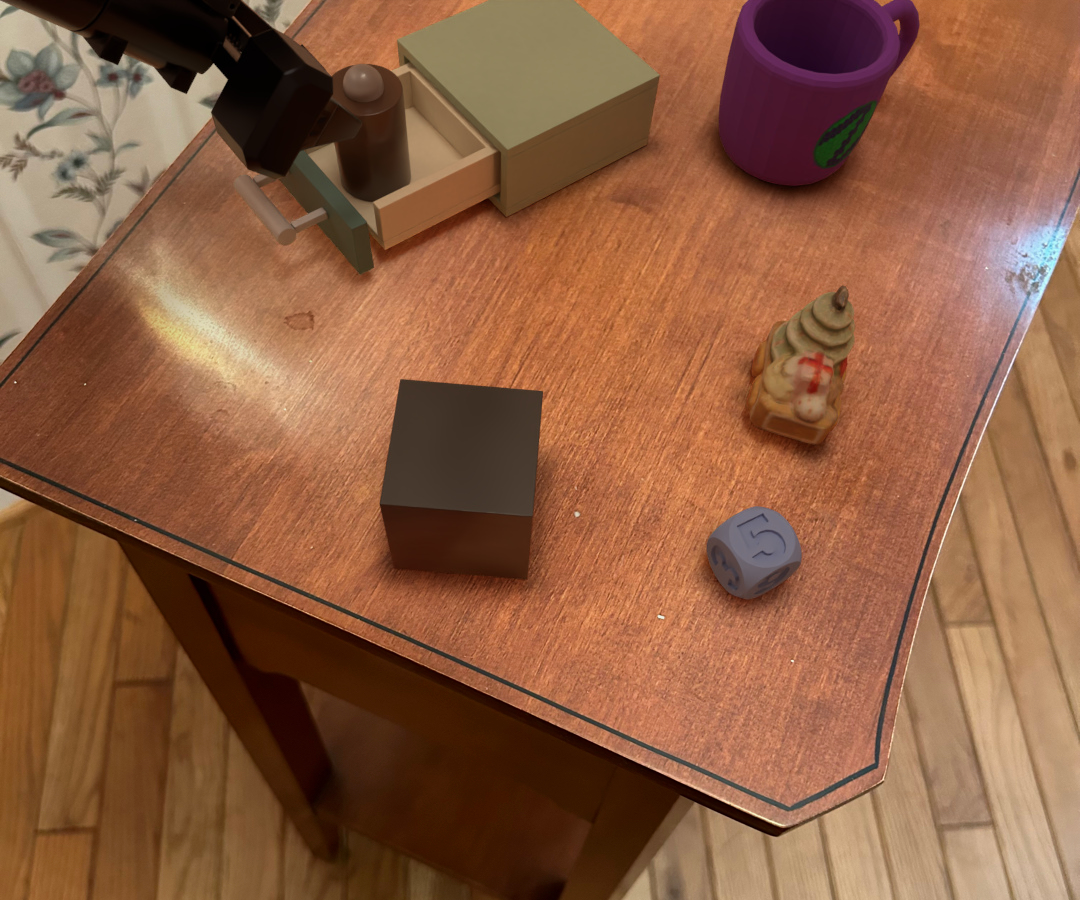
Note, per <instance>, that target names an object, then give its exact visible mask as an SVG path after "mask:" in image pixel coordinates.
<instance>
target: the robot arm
mask: <svg viewBox="0 0 1080 900" xmlns="http://www.w3.org/2000/svg"><path fill="white" fill-rule="evenodd" d="M0 2H2V3H5V4H7V5H9V6H12V7H13V8H17V9H18V10H21V11H23V12H25V13H28V14H30V15H33V16H35V17H37V18H39V19H42V20H44V21H46V22H49V23H51V24H53V25H55V26H58V27H59V28H63V29H65V30H67V31H68V32H71V33H74V34H76V35H78V36H81V37H82V38H83V40H85V42H86V43H87V44H88V46H90V48H91V49H92V51H94V53H95V55H97V56H98V58H100V59H102V60H104V61H106V62H109V63H111V64H113V65H116V66H119V64H120V62H121V59H122V58H123V55H124V56H128V57H129V58H131V59H134V60H136V61H139V62H141V63H143V64H146V65H148V66H150V67H153V68H154V70H155V71H156V72H157V73H158V74H159V75H160V77H161V78H162V79H163V80H164V81H165V83H166V84H167V85H168V86H169V87H170V88H171V89H173V90H175V91H178V92H180V93H182V94H185V95H187V94H188V92H189V91H190V89H191V87H192V84H193V83H194V81H195V79H196V77H197V75H198V74H199V75H204V74H206V73H207V72H208V71H209V70H210V69H211V67H212V66H213V65H214V66H215V67H216V68H217V69H218V70H219V72H220V73H221V74H222V75H223V77H225V78H226V79H227V80H226V82H225V83H224V86H223V88H222V89H221V92H220V94H219V96H218V98H217V99H216V101H215V103H214V105H213V107H212V109H211V111H210V115H211V118H212V121H213V124H214V127H215V130H216V133H217V134H218V135H219V137H220V138H221V139H222V141H224V143H225V144H226V145H227V146H228V148H230V150H231V151H232V153H234V155H235V156H236V157H237V158H238V160H239V161H240V162H241V164H243V166H244V167H245V168H246V169H247V170H248V171H251V172H253V173H256V174H258V175H259V174H261V175H264V176H267V177H270V178H272V179H278V178H282V177H285V176H286V174H287V173H288V171H289V169H290V168H291V166H292V164H293V162H294V161H295V159H296V157H297V155H298V154H299V152H300V151H303V150H306V149H309V148H313V147H317V146H321V145H326V144H330V143H334V142H338V141H343V140H347V139H351V138H354V137H355V136H356V134H357V133H358V131H359V129H360V128H361V126H362V122H361V121H360V119H359V118H357V117H356V116H355V115H354V114H353V113H351V112H350V111H349V110H348V109H347V108H345V107H344V106H343V105H342V104H340V103H339V102H338V101H337V100H335V99H334V98H333V97H332V95H333V77H332V74H330V73H329V72H328V71H327V69H326V67H324V66H323V65H322V63H321V62H320V61H318V60H317V58H316V57H315V56H314V55H313V54H312V52H310V51H309V50H308V49H307V48H306V47H305V45H304V44H302V43H299V42H297V41H295V40H294V39H293V38H292V37H290V36H289V35H287V34H285V33H283V32H281V31H279V30H278V29H276V28H274V27H273V26H271V24H270V23H268V21H266V20H265V19H264V18H263V17H262V16H261V15H260V14H258V13H257V12H256V11H255V10H254V9H253V8H252V7H251V6H250V5H249V4H248V3H246V2H245V1H244V0H0ZM278 180H279V179H278Z"/></svg>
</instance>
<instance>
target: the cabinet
mask: <svg viewBox="0 0 1080 900" xmlns="http://www.w3.org/2000/svg"><path fill="white" fill-rule="evenodd" d="M396 45H397V56H398V57H397V58H398V65H399V66H398V67H401V66H403V65H405V64H407V63H410V62H411V63H412V64H413V65H414V66H415V67H416V68H417V69H418V70H419V71H420V72H421V73H422V74H423V75H424V76H425V77H426V78H427V79H428V80H429V81H430V82H431V83H432V84H433V85H434V86H435V87H436V88H437V89H438V90H439V91H440V92H441V93H442V94H443V95H444V96H445V97H446V98H447V99H448V100H449V101H450V102H451V103H452V104H453V105H454V106H455V107H456V108H457V109H458V110H459V111H460V112H461V113H462V114H463V115H464V116H465V117H466V118H467V119H468V120H469V121H470V122H471V123H472V124H473V125H474V126H475V127H476V128H477V129H478V130H479V131H480V132H481V133H482V134H483V135H484V136H485V137H486V138H487V139H488V140H489V141H490V142H491V143H492V144H493V145H494V146H495V147H496V148H497V149H498V150H499V151H500V152H501V191H500V192H499V193H497V194H495V195H493V196H491V197H489V198H487V199H488V200H489V201H490V202H491V203H492V204H493V205H494V207H495V208H497V209H498V210H499V212H500V213H502V214H503V216H504V217H505V218H509V217H510V216H512V215H514V214H517V213H518V212H520V211H521V210H524V209H526V208H527V207H529V206H531V205H533V204H535V203H537V202H539V201H541V200H543V199H544V198H546V197H548V196H550V195H552V194H555V193H556V192H558V191H560V190H562V189H564V188H566V187H568V186H570V185H572V184H573V183H576V182H578V181H580V180H582V179H583V178H585V177H587V176H589V175H591V174H593V173H595V172H597V171H599V170H601V169H603V168H605V167H607V166H609V165H610V164H612V163H614V162H616V161H618V160H620V159H622V158H624V157H626V156H627V155H630V154H631V153H633V152H635V151H637V150H639V149H642V148H644V147H645V146H647V145H649V138H650V133H651V127H652V122H653V116H654V110H655V104H656V98H657V93H658V89H659V84H660V78H661V74H660V73H659V72H657V70H655V69H654V68H653V67H652V66H651V65H649V63H648V62H646V61H645V60H643V58H641V57H640V56H639V55H638V54H636V52H635V51H633V50H632V49H631V48H630V47H629V46H628V45H626V44H625V43H624V42H623V41H622V40H621V39H619V37H617V35H616V34H614V33H613V32H612V31H611V30H609V29H608V28H607V27H606V26H605V25H603V24H602V23H601V22H600V21H599V20H598V19H597V18H596V17H595V16H593V15H592V13H590V12H589V11H588V10H586V9H585V8H584V7H583V6H582V5H581V4H579V3H578V2H577V1H576V0H486V1H483V2H480V3H478V4H476V5H474V6H472V7H469V8H467V9H465V10H463V11H460V12H457V13H455V14H453V15H450V16H447V17H446V18H444V19H441V20H438V21H437V22H434V23H432V24H430V25H428V26H427V25H426V26H425V27H422V28H420V29H418V30H415V31H412V32H410V33H409V34H406V35H404V36H401V37H400V38H397V39H396Z"/></svg>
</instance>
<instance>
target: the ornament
mask: <svg viewBox="0 0 1080 900" xmlns="http://www.w3.org/2000/svg"><path fill="white" fill-rule="evenodd" d="M849 297H850V294H849V289H848V288H847V285H841V286H839V287H838V289H837V290H836V291H828V292H825V293H822V294H821V295H819V296H817V297H816V298H815V299H814V300H812V301H810V302H809V303H807V304H806V305H805V306H804V307H803V308H802V309H800V310H798V311H797V312H795V314H793V315H792V316H791V317H790V318H789V320H783V319H782V320H778V321H776V322H775V323H774V324H772V326H771V328H770V330H769V332H768V335H767V336H766V338H765V340H764V341H761V342H760V343H759V345H758V347H757V348H756V352H755V354H754V356H753V360H752V364H751V371H750V372H751V376H752V377H754V379H753V381H752V383H751V386H750V389H749V392H748V394H747V398H746V403H745V408H746V410H747V412H748V415H749V419H750V422H751V424H753V425H754V427H755V428H757V429H759V430H761V431H765V432H768V433H772V434H775V435H778V436H781V437H785V438H787V439H792V440H794V441H797V442H800V443H805V444H808V445H813V446H818V445H820V444H821V443H822V442H824V440H825V438H827V436H828V435H829V434H830V432H831V431H832V430H834V429H835V427H836V425H837V424H838V421H839V418H840V416H841V407H842V399H841V396H842V394H843V391H844V387H845V384H844V383H845V379H846V376H847V369H848V365H849V364H848V363H849V362H848V356H849V354H850V352H851V351H852V349H853V348H854V345H855V343H856V342H855V341H856V339H855V337H856V336H855V329H856V322H855V319H854V318H855V308H854V306H853V304H852V302H851V301H850V300H849Z"/></svg>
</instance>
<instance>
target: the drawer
mask: <svg viewBox="0 0 1080 900" xmlns="http://www.w3.org/2000/svg"><path fill="white" fill-rule="evenodd" d="M391 71H392V72H393V73H394V74H396V76H397V77H398V78H399V79H400V81H401V83H402V87H403V95H404V106H405V116H406V127H407V137H408V147H409V158H410V168H411V180H410V183H409V185H407V186H405V187H403V188H401V189H399V190H397V191H395V192H393V193H391V194H388V195H386V196H384V197H382V198H380V199H378V200H376V201H374V202H369V201H364V200H360V199H358V198H355V197H354V196H352V195H351V194H349V193H348V192H347V191H346V190H345V188H344V187H343V185H342V182H341V178H340V172H339V167H338V161H337V156H336V150H335V145H334V143H330V144H326V145H321V146H317V147H313V148H309V149H306V150H303V151H300V152H299V154H298V155H297V157H296V159H295V161H294V162H293V164H292V166H291V168H290V169H289V171H288V173H287V174H286V176H285V177H282V178H278V179H272V178H270V177H267V176H264V175H261V174H259V173H258V174H256V175H254V176H253V177H251V175H249V174H246V173H242V174H240V175H238V176H237V177H236V178H235V179H234V180H233V184H232V185H233V189H234V191H235V192H236V193H237V194H238V196H239V197H240V198H241V199H242V201H243V202H244V203H245V204H246V205H247V207H248V208H249V209H250V210H251V212H252V213H253V214H254V215H255V216H256V218H257V219H258V220H259V221H260V223H261V224H262V225H263V226H264V227H265V228H266V230H267V231H268V232H269V234H270V235H271V236H272V237H273V239H275V241H276V242H277V243H278V244H279V245H280V246H282V247H287V246H290V245H291V244H293V243H294V241H295V240H296V239H297V235H298V234H299V233H301V232H303V231H305V230H307V229H309V228H311V227H313V226H315V225H317V227H318V228H319V229H320V230H321V232H323V233H324V235H325V236H326V237H327V238H328V239H329V240H330V242H331V243H332V244H333V245H334V247H335V248H336V249H337V250H338V251H339V252H340V253H341V255H342V256H343V257H344V258H345V260H346V261H347V262H348V263H349V264H350V265H351V266H352V268H353V269H354V270H355V271H356V273H358V274H359V276H361V275H364V274H365V273H367V272H369V271H371V270H373V269H374V268H375V262H374V258H373V257H374V256H373V250H372V244H371V238H370V235H371V236H372V237H373V238H374V239H375V241H376V242H377V243H378V244H379V245H380V246H381V248H382V249H383V250H385V251H386V250H388V249H390V248H393V247H394V246H396V245H398V244H400V243H402V242H404V241H406V240H408V239H410V238H411V237H414V236H416V235H418V234H420V233H421V232H423V231H426V230H427V229H429V228H431V227H434V226H436V225H437V224H439V223H441V222H444V221H446V220H447V219H449V218H451V217H453V216H456V215H457V214H460V213H461V212H463V211H465V210H467V209H469V208H472V207H473V206H476V205H477V204H479V203H481V202H483V201H484V200H486V199H488V198H489V197H491V196H493V195H495V194H497V193H499V192H500V191H501V152H500V151H499V150H498V149H497V148H496V147H495V146H494V145H493V144H492V143H491V142H490V141H489V140H488V139H487V138H486V137H485V136H484V135H483V134H482V133H481V132H480V131H479V130H478V129H477V128H476V127H475V126H474V125H473V124H472V123H471V122H470V121H469V120H468V119H467V118H466V117H465V116H464V115H463V114H462V113H461V112H460V111H459V110H458V109H457V108H456V107H455V106H454V105H453V104H452V103H451V102H450V101H449V100H448V99H447V98H446V97H445V96H444V95H443V94H442V93H441V92H440V91H439V90H438V89H437V88H436V87H435V86H434V85H433V84H432V83H431V82H430V81H429V80H428V79H427V78H426V77H425V76H424V75H423V74H422V73H421V72H420V71H419V70H418V69H417V68H416V67H415V66H414V65H413V64H412V63H411V62H410V63H407V64H405V65H403V66H401V67H399V66H398V67H396V68H394V69H391ZM276 181H279V182H280V184H282V185H283V187H284V188H285V189H286V190H287V192H289V193H290V195H291V196H292V197H293V199H295V201H296V202H297V203H298V204H299V205H300V207H301V208H302V209H303V210H304V211H305V212H306V213H307V214H304V215H303V216H300V217H298V218H296V219H294V220H292V221H288V220H287V218H286V217H285V216H284V215H283V214H282V213H281V211H280V210H279V208H278V207H277V206H276V204H274V202H272V201H271V199H270V198H269V197H268V196H267V195H266V193H265V192H264V191H263V189H262V188H263V187H266V186H268V185H270V184H272V183H275V182H276Z"/></svg>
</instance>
